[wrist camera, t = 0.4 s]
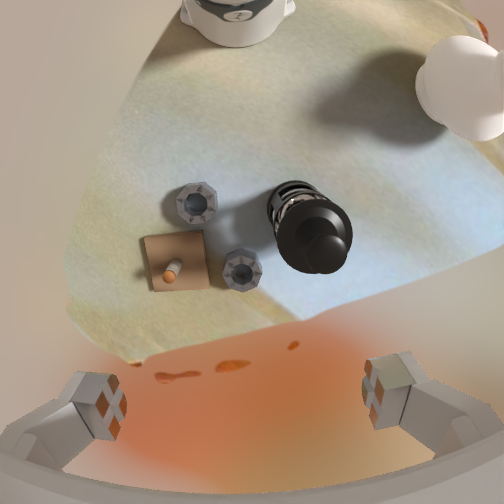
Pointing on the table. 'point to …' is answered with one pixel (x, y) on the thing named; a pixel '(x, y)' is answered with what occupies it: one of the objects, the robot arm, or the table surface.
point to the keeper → (177, 261)
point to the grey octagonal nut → (188, 212)
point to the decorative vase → (463, 87)
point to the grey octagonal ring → (239, 281)
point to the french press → (309, 228)
